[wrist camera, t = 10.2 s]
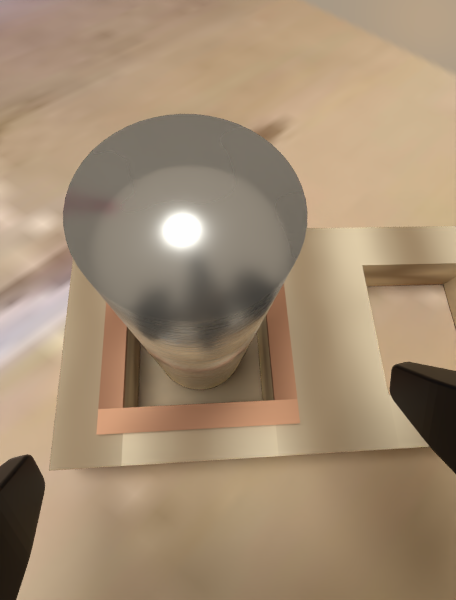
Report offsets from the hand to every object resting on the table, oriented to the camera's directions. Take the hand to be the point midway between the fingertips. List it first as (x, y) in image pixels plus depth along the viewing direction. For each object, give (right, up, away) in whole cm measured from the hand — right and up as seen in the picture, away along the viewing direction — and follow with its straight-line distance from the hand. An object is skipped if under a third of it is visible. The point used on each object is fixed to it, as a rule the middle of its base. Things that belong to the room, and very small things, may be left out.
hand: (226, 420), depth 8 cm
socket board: (+4, +1, +11) cm, 12 cm away
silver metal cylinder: (-2, 0, +10) cm, 10 cm away
